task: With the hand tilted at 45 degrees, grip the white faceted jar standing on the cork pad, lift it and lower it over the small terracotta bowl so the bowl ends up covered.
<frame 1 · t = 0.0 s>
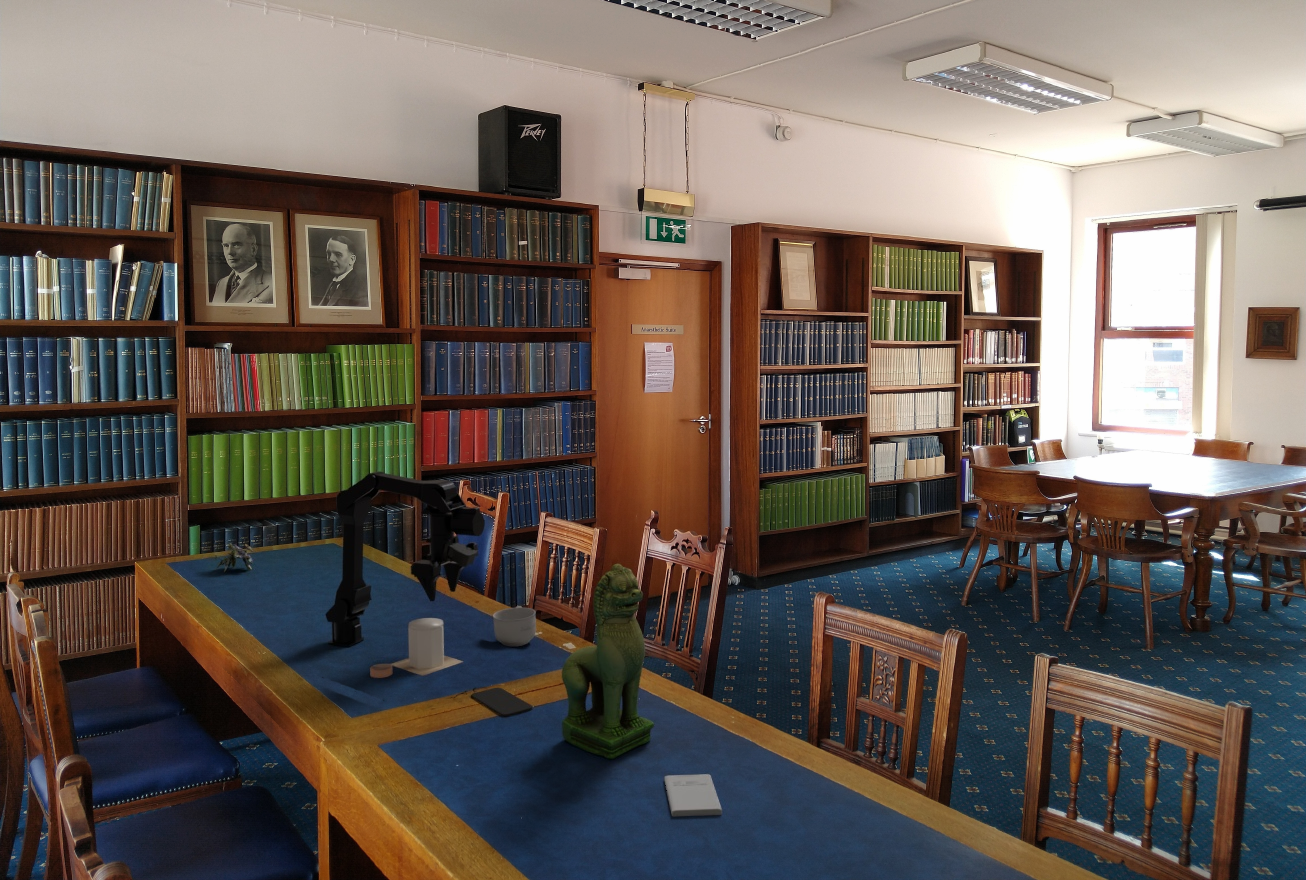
hand: (442, 596, 225), 15 cm above the table, tool pointing down, fingers open, 9 cm apart
phone: (501, 704, 197), on the table
white faceted jar: (426, 662, 216), point 1 cm above the table, touching cork pad
cork pad: (426, 669, 216), on the table
teacup: (516, 641, 238), on the table
external hard drive: (692, 801, 156), on the table
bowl: (381, 680, 209), on the table
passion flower: (235, 571, 308), on the table
lion statue: (606, 741, 178), on the table
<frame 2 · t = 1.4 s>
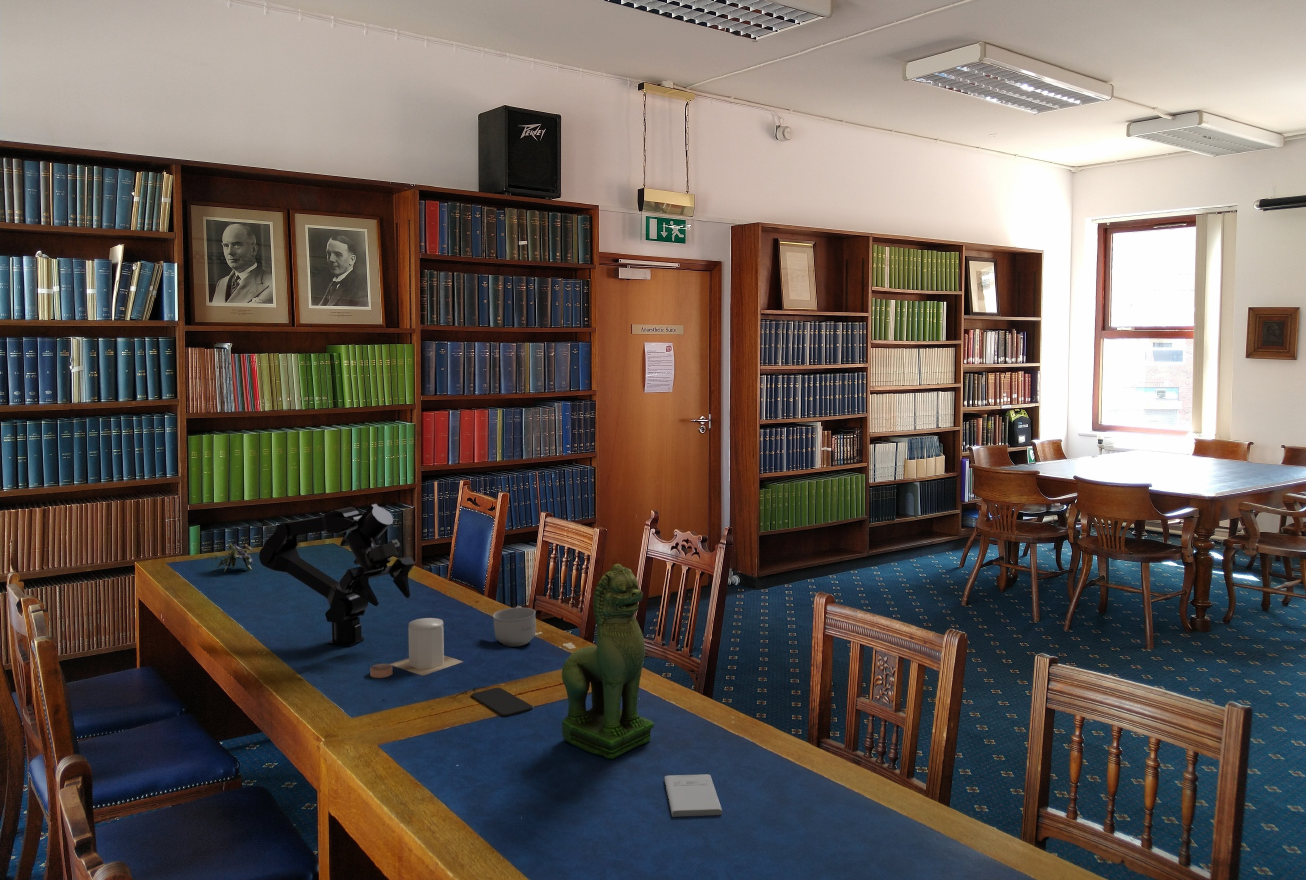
hand: (393, 601, 224), 14 cm above the table, tool tilted 45°, fingers open, 9 cm apart
nothing on the table moved.
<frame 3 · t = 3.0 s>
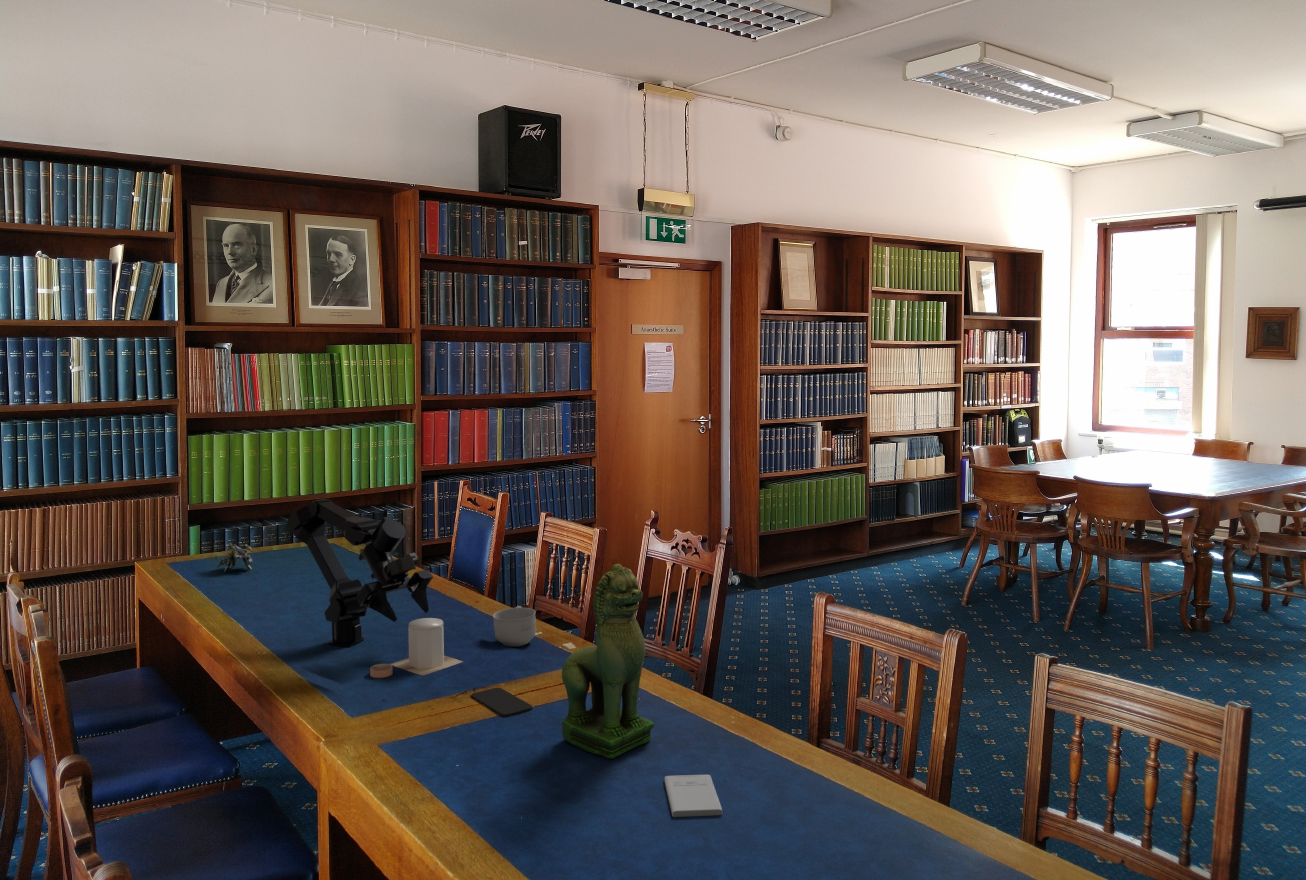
hand: (411, 616, 218), 12 cm above the table, tool tilted 45°, fingers open, 9 cm apart
nothing on the table moved.
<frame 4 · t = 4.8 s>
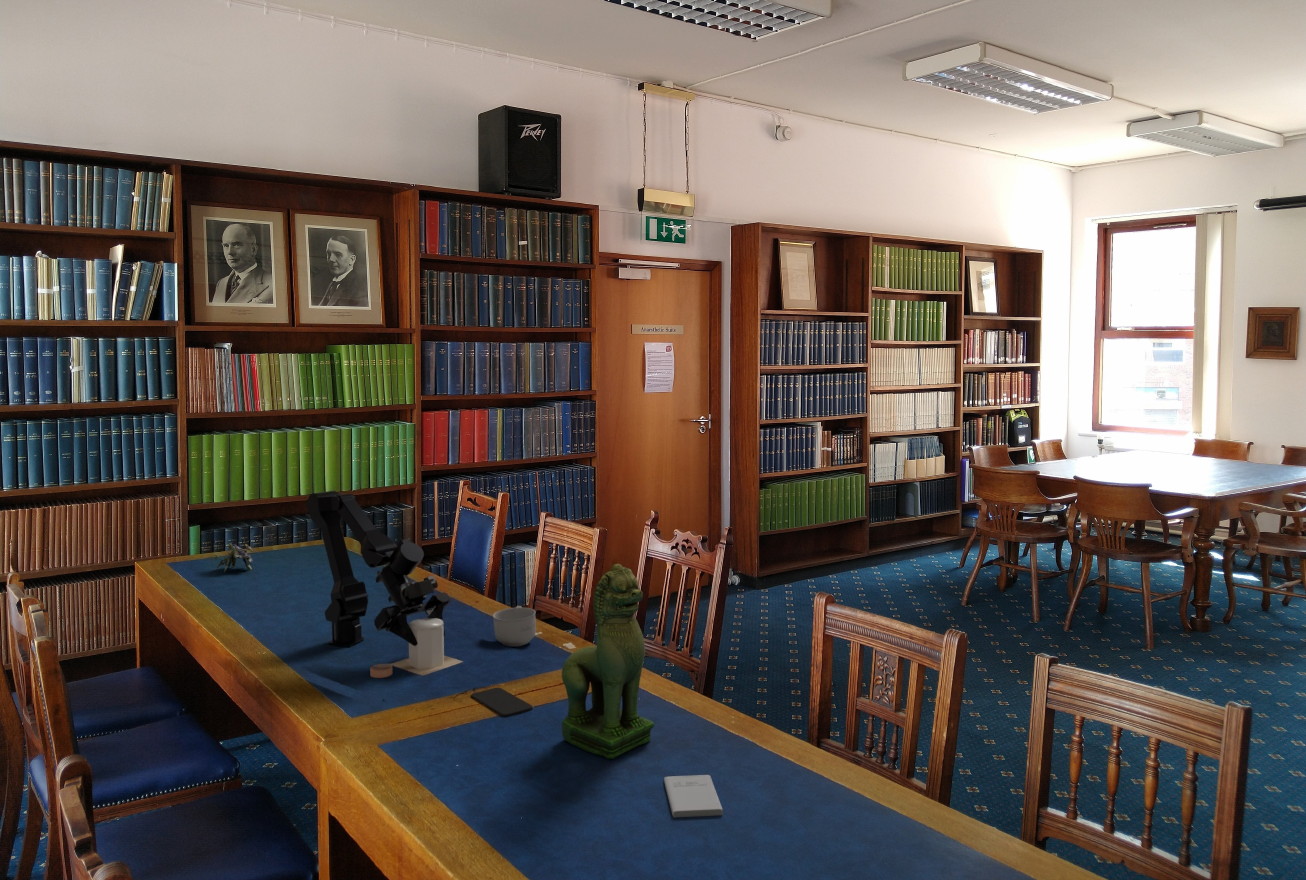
hand: (430, 640, 215), 7 cm above the table, tool tilted 45°, fingers closed on white faceted jar, 8 cm apart
white faceted jar: (426, 662, 216), point 2 cm above the table, touching cork pad, gripper
everything else where it was.
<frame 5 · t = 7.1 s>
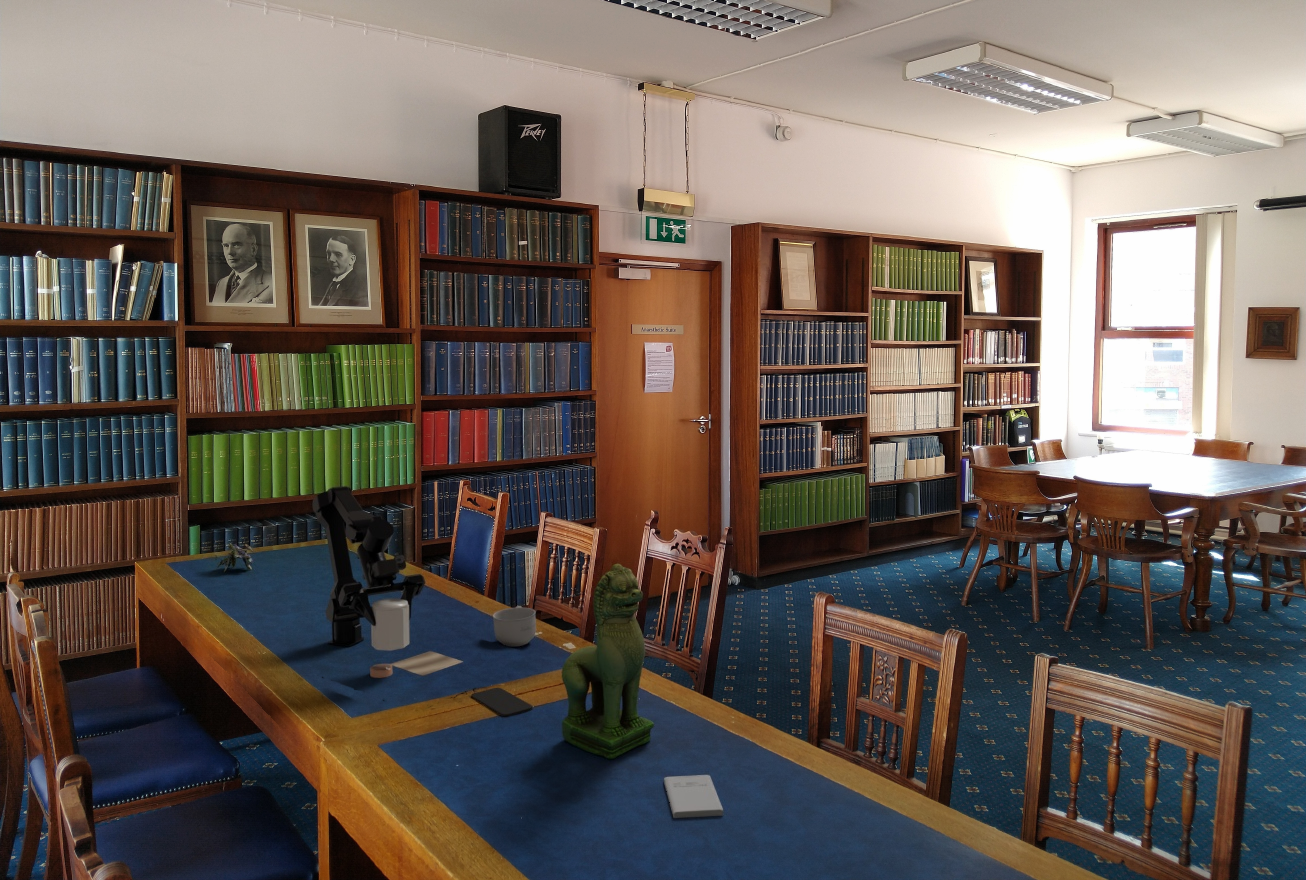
hand: (392, 621, 208), 13 cm above the table, tool tilted 45°, fingers closed on white faceted jar, 8 cm apart
white faceted jar: (390, 644, 209), point 8 cm above the table, touching gripper
everything else where it was.
when the fingers open (7 cm above the table, at t = 9.5 s): white faceted jar drops 1 cm, on the table.
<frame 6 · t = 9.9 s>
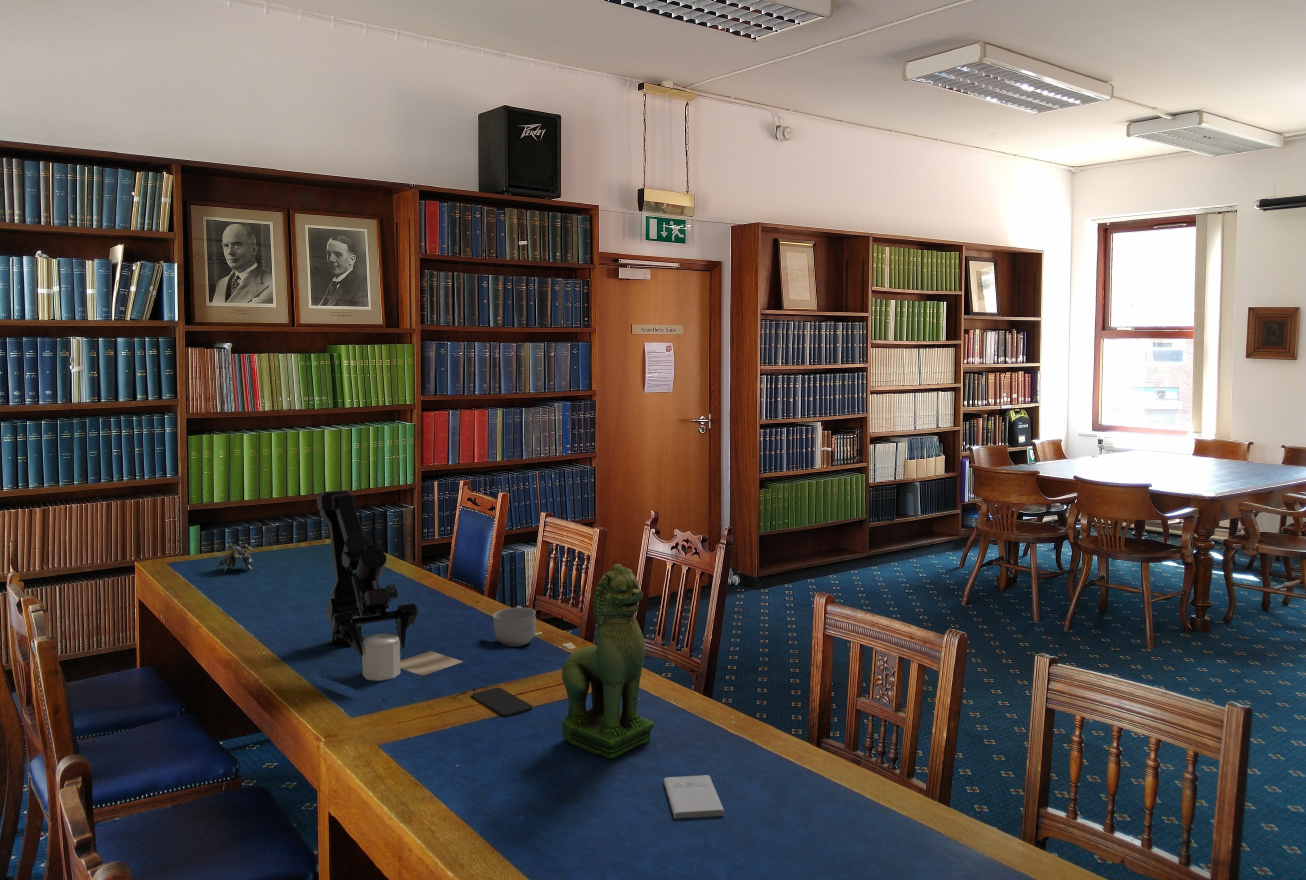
hand: (382, 651, 207), 7 cm above the table, tool tilted 45°, fingers open, 9 cm apart
white faceted jar: (381, 680, 209), on the table
everything else where it was.
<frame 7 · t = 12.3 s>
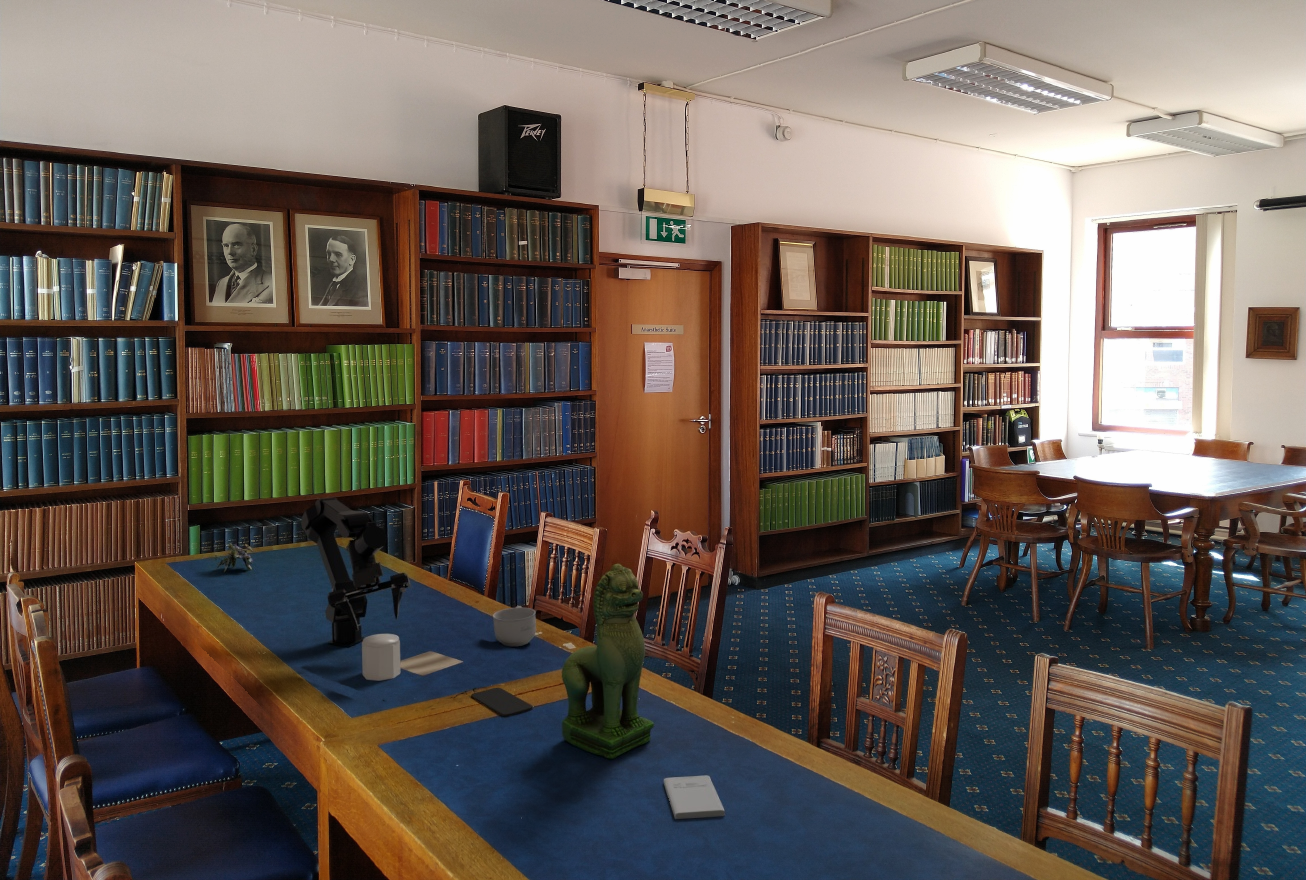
hand: (377, 624, 219), 9 cm above the table, tool tilted 30°, fingers open, 9 cm apart
nothing on the table moved.
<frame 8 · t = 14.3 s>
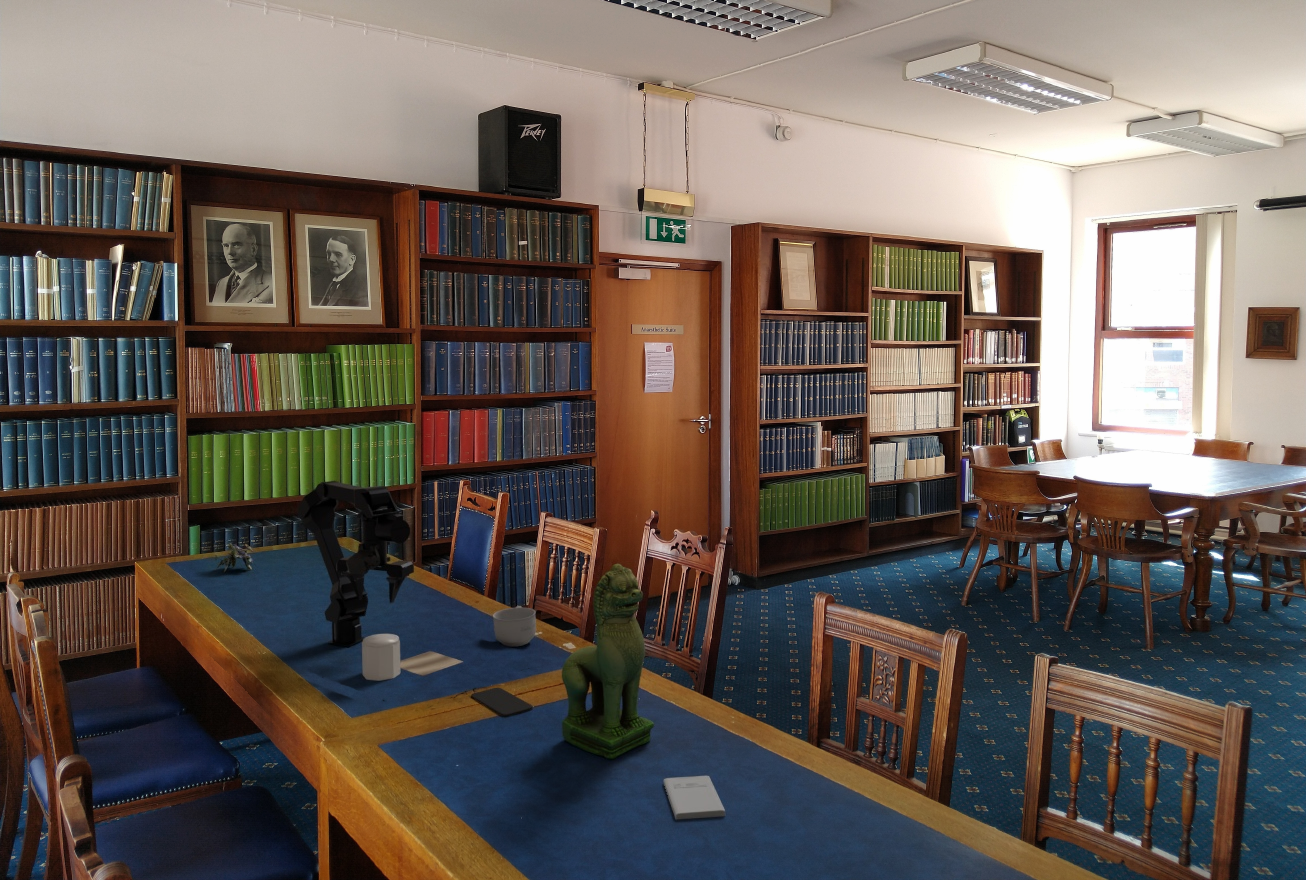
hand: (375, 600, 227), 13 cm above the table, tool pointing down, fingers open, 9 cm apart
nothing on the table moved.
at the end: white faceted jar 0.1 cm from the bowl (horizontally); white faceted jar on the table; white faceted jar tilted 0° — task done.
